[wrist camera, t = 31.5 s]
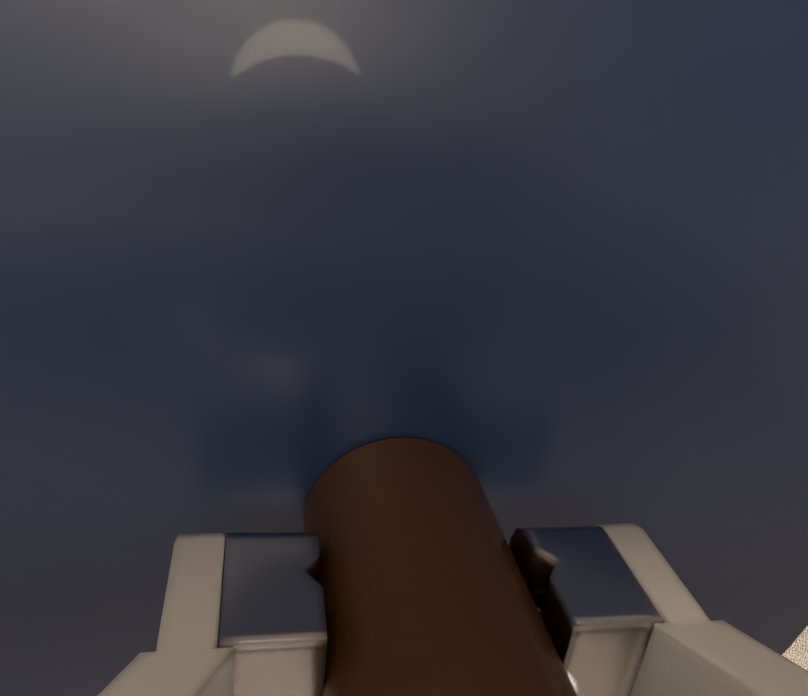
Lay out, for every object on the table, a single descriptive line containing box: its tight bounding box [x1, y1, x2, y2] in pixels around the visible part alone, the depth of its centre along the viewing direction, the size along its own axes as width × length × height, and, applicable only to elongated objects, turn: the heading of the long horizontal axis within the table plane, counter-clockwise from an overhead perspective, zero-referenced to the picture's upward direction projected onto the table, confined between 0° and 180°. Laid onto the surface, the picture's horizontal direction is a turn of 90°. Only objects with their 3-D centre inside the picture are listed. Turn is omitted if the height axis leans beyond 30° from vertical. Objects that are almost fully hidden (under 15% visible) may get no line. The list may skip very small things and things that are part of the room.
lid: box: [0, 0, 808, 696], centre depth 8 cm, size 16×16×6 cm
